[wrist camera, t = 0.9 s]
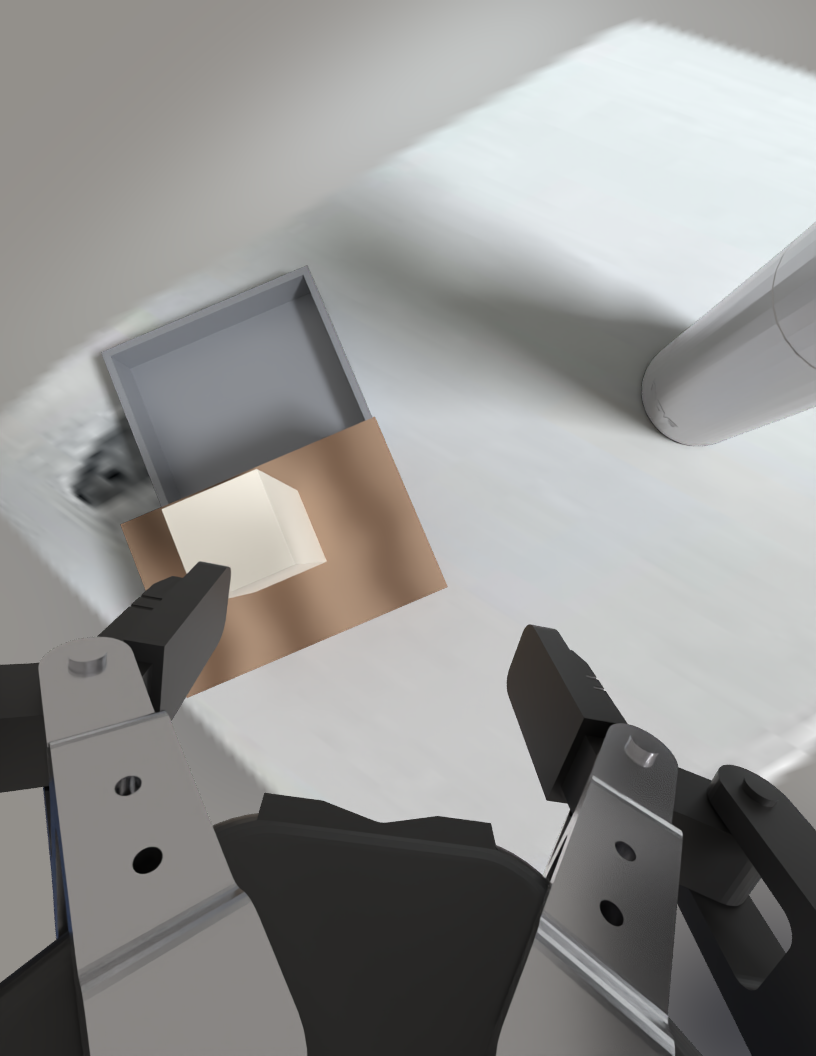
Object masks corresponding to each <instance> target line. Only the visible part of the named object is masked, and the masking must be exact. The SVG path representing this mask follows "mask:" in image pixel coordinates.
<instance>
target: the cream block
mask: <svg viewBox="0 0 816 1056" xmlns="http://www.w3.org/2000/svg"><path fill="white" fill-rule="evenodd" d="M162 512H163V514H164V517H165V520H166V522H167V525H168V527H169V530H170V532H171V535H172V537H173V540H174V543H175V545H176V548H177V550H178V553H179V555H180V558H181V561H182V563H183V566H184V568H185V571H186V573H188V572H189V571H190V570H191V569H192V568H193V567H194V566H195V565H196V564H197V563H198V562H199V561H202V562H207V563H212V564H218V565H223V566H228V567H230V568H231V580H230V589H229V597H228V598H233V597H237V596H241V595H245V594H250V593H254V592H257V591H259V590H261V589H264V588H266V587H268V586H271V585H273V584H276V583H278V582H280V581H283V580H285V579H287V578H290V577H292V576H294V575H297V574H299V573H301V572H304V571H306V570H308V569H311V568H313V567H315V566H318V565H320V564H323V563H325V562H327V561H326V559H325V556H324V554H323V551H322V549H321V546H320V544H319V542H318V539H317V537H316V534H315V532H314V529H313V527H312V525H311V522H310V520H309V517H308V515H307V512H306V510H305V508H304V505H303V503H302V500H301V498H300V495H299V493H298V491H297V490H296V489H294V488H292V487H290V486H288V485H286V484H284V483H282V482H280V481H279V480H277V479H275V478H273V477H271V476H269V475H267V474H265V473H264V472H262V471H260V470H258V469H255V470H253V471H251V472H248V473H246V474H244V475H241V476H239V477H237V478H234V479H232V480H229V481H227V482H225V483H222V484H220V485H218V486H215V487H213V488H211V489H208V490H206V491H204V492H201V493H199V494H196V495H194V496H192V497H189V498H187V499H185V500H182V501H180V502H178V503H175V504H173V505H171V506H168V507H166V508H163V509H162Z"/></svg>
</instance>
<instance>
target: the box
mask: <svg viewBox="0 0 816 1056" xmlns="http://www.w3.org/2000/svg"><path fill="white" fill-rule="evenodd" d="M101 353H102V356H103V359H104V361H105V364H106V366H107V369H108V371H109V374H110V376H111V379H112V382H113V384H114V387H115V389H116V392H117V394H118V397H119V399H120V402H121V405H122V407H123V410H124V412H125V415H126V417H127V420H128V422H129V425H130V428H131V430H132V433H133V435H134V438H135V440H136V443H137V446H138V448H139V451H140V453H141V456H142V458H143V461H144V463H145V466H146V469H147V471H148V474H149V476H150V479H151V481H152V484H153V486H154V489H155V492H156V494H157V497H158V499H159V502H160V504H161V507H163V506H165V505H168V504H170V503H172V502H175V501H177V500H179V499H182V498H184V497H186V496H189V495H191V494H194V493H196V492H198V491H201V490H203V489H205V488H208V487H210V486H212V485H215V484H217V483H220V482H222V481H224V480H227V479H229V478H231V477H234V476H236V475H238V474H241V473H243V472H245V471H248V470H250V469H253V468H255V467H257V466H260V465H262V464H264V463H267V462H269V461H271V460H274V459H276V458H278V457H281V456H283V455H286V454H288V453H290V452H293V451H295V450H297V449H300V448H302V447H304V446H307V445H309V444H312V443H314V442H316V441H319V440H321V439H323V438H326V437H328V436H330V435H333V434H335V433H337V432H340V431H342V430H345V429H347V428H349V427H352V426H354V425H356V424H359V423H361V422H363V421H366V420H368V419H371V418H372V415H371V413H370V411H369V408H368V406H367V404H366V401H365V399H364V397H363V394H362V392H361V390H360V387H359V385H358V383H357V380H356V378H355V376H354V373H353V371H352V368H351V366H350V364H349V361H348V359H347V357H346V354H345V352H344V350H343V347H342V345H341V343H340V340H339V338H338V336H337V333H336V331H335V329H334V326H333V324H332V322H331V319H330V317H329V315H328V312H327V310H326V308H325V305H324V303H323V301H322V298H321V296H320V294H319V291H318V289H317V287H316V284H315V282H314V280H313V277H312V275H311V272H310V270H309V268H308V265H307V266H304V267H302V268H300V269H297V270H295V271H293V272H290V273H288V274H285V275H283V276H281V277H278V278H276V279H274V280H271V281H269V282H267V283H264V284H262V285H259V286H257V287H255V288H252V289H250V290H248V291H245V292H243V293H240V294H238V295H236V296H233V297H231V298H229V299H226V300H224V301H222V302H219V303H217V304H214V305H212V306H210V307H207V308H205V309H203V310H200V311H198V312H195V313H193V314H191V315H188V316H186V317H184V318H181V319H179V320H177V321H174V322H172V323H169V324H167V325H165V326H162V327H160V328H158V329H155V330H153V331H150V332H148V333H146V334H143V335H141V336H139V337H136V338H134V339H131V340H129V341H127V342H124V343H122V344H120V345H117V346H115V347H113V348H110V349H108V350H105V351H103V352H101Z"/></svg>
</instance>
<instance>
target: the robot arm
mask: <svg viewBox="0 0 816 1056" xmlns="http://www.w3.org/2000/svg"><path fill="white" fill-rule="evenodd" d="M642 399H643V404H644V407H645V410H646V413H647V415H648V417H649V418H650V420H651V421H652V423H653V424H654V425H655V426H656V428H657V429H658V430H659V431H660V432H661V433H663V434H664V435H666V436H667V437H669V438H670V439H672V440H674V441H677V442H679V443H682V444H686V445H691V446H706V445H711V444H716V443H718V442H721V441H724V440H727V439H729V438H732V437H735V436H737V435H740V434H743V433H745V432H748V431H751V430H754V429H757V428H760V427H762V426H765V425H768V424H770V423H773V422H776V421H779V420H781V419H784V418H787V417H789V416H792V415H795V414H797V413H800V412H803V411H806V410H808V409H811V408H814V407H816V222H815V223H814V224H813V225H811V226H810V227H809V228H808V229H807V230H806V231H804V232H803V233H802V234H801V235H800V236H799V237H797V238H796V239H795V240H794V241H793V242H791V243H790V244H789V245H788V246H787V247H785V248H784V249H783V250H782V251H781V252H779V253H778V254H777V255H776V256H775V257H773V258H772V259H771V260H770V261H769V262H767V263H766V264H765V265H764V266H763V267H761V268H760V269H759V270H758V271H757V272H755V273H754V274H753V275H752V276H750V277H749V278H748V279H747V280H746V281H744V282H743V283H742V284H741V285H740V286H738V287H737V288H736V289H735V290H734V291H732V292H731V293H730V294H729V295H728V296H726V297H725V298H724V299H723V300H722V301H720V302H719V303H718V304H717V305H716V306H714V307H713V308H712V309H711V310H710V311H708V312H707V313H706V314H705V315H704V316H702V317H701V318H700V319H699V320H697V321H696V322H695V323H694V324H693V325H691V326H690V327H689V328H688V329H686V330H685V331H684V332H683V333H682V334H680V335H679V336H678V337H677V338H676V339H674V340H673V341H672V342H671V343H670V344H668V345H667V346H666V347H665V348H664V349H662V350H661V351H660V352H659V353H658V354H657V355H656V356H655V357H654V358H653V359H652V361H651V362H650V364H649V366H648V367H647V369H646V372H645V375H644V378H643V382H642ZM230 580H231V568H230V567H228V566H223V565H218V564H212V563H207V562H202V561H199V562H198V563H197V564H196V565H195V566H194V567H193V568H192V569H191V570H190V571H189V572H188V573H187V574H186V575H185V576H184V577H183V578H182V577H176V576H171V577H168V578H166V579H164V580H161V581H159V582H157V583H154V584H153V585H152V586H151V587H150V588H149V589H147V590H146V591H145V592H144V593H143V594H142V596H141V597H139V598H138V599H137V600H136V601H135V602H134V603H132V605H131V607H128V608H127V609H126V610H125V611H124V612H123V613H122V614H121V615H120V616H119V617H118V618H116V619H115V620H114V621H113V622H112V623H111V624H110V625H109V626H108V627H107V628H106V629H105V630H104V631H103V632H102V633H101V634H99V635H98V636H97V637H87V638H81V639H76V640H72V641H69V642H66V643H64V644H61V645H59V646H57V647H55V648H53V649H52V650H50V651H49V652H48V653H47V654H46V655H44V656H43V658H42V659H41V661H40V663H31V664H10V665H0V793H1V792H8V791H16V790H23V789H30V788H37V787H43V794H44V804H45V815H46V824H47V834H48V845H49V855H50V865H51V876H52V889H53V905H54V920H55V932H56V940H55V941H54V942H53V943H51V944H50V945H49V946H47V947H46V948H45V949H44V950H42V951H41V952H40V953H38V954H37V955H36V956H34V957H33V958H32V959H31V960H29V961H28V962H27V963H25V964H24V965H23V966H21V967H20V968H19V969H18V970H16V971H15V972H14V973H12V974H11V975H10V976H8V977H7V978H6V979H5V980H3V981H2V982H1V983H0V1056H702V1054H701V1053H700V1052H699V1051H698V1050H697V1049H696V1048H695V1046H694V1045H693V1044H692V1043H691V1042H690V1041H689V1040H688V1038H687V1037H686V1036H685V1035H684V1034H683V1033H682V1032H681V1031H680V1029H679V1028H678V1027H677V1026H676V1025H675V1024H674V1023H673V1021H672V1020H671V1019H670V1018H669V1017H668V1004H669V992H670V982H671V970H672V958H673V946H674V934H675V923H676V910H677V904H678V906H679V908H680V910H681V912H682V914H683V916H684V918H685V920H686V922H687V924H688V926H689V928H690V931H691V933H692V934H693V936H694V938H695V941H696V943H697V945H698V947H699V949H700V951H701V953H702V955H703V957H704V959H705V961H706V963H707V965H708V967H709V969H710V971H711V973H712V975H713V978H714V979H715V981H716V983H717V986H718V988H719V990H720V992H721V994H722V996H723V998H724V1000H725V1002H726V1004H727V1006H728V1008H729V1010H730V1012H731V1014H732V1016H733V1018H734V1020H735V1022H736V1024H737V1026H738V1029H739V1031H740V1033H741V1035H742V1037H743V1038H744V1041H745V1043H746V1045H747V1047H748V1049H749V1051H750V1053H751V1055H752V1056H816V830H815V829H814V828H813V827H812V826H811V824H810V823H809V822H808V821H807V820H806V819H805V818H804V817H803V815H802V814H801V813H800V812H799V811H798V810H797V808H796V807H795V806H794V805H793V804H792V803H791V802H790V800H789V799H788V798H787V797H786V796H785V795H784V794H783V793H782V792H781V791H779V790H778V789H777V788H776V787H775V786H773V785H772V784H771V783H769V782H768V781H766V780H765V779H763V778H762V777H760V776H759V775H757V774H755V773H753V772H751V771H749V770H747V769H744V768H741V767H738V766H734V765H723V766H721V767H720V768H719V770H718V771H717V773H716V774H715V776H714V778H713V779H712V781H711V780H709V779H706V778H704V777H701V776H699V775H696V774H694V773H691V772H689V771H686V770H684V769H681V768H679V767H678V764H677V761H676V759H675V757H674V755H673V754H672V753H671V751H670V750H669V749H668V748H667V747H666V746H665V745H664V744H663V743H662V742H661V741H660V740H658V739H657V738H656V737H654V736H653V735H651V734H650V733H648V732H646V731H644V730H642V729H640V728H638V727H635V726H632V725H629V724H627V722H626V721H625V719H624V718H623V716H622V715H621V713H620V712H619V710H618V709H617V707H616V706H615V704H614V703H613V701H612V700H611V698H610V697H609V695H608V694H607V692H606V691H604V688H603V686H602V685H601V683H600V682H599V680H597V679H596V676H595V674H594V673H593V671H592V670H591V668H590V667H589V665H588V664H587V663H586V662H585V661H584V660H583V659H582V658H580V657H579V656H578V655H577V654H576V653H575V652H574V651H572V650H570V649H569V648H568V646H567V645H566V643H565V642H564V640H563V638H562V637H561V635H560V634H559V632H558V631H557V630H556V629H551V628H546V627H541V626H536V625H527V626H526V628H525V629H524V631H523V633H522V636H521V639H520V641H519V644H518V647H517V650H516V652H515V655H514V658H513V660H512V663H511V666H510V669H509V672H508V676H507V692H508V696H509V698H510V701H511V704H512V707H513V709H514V712H515V715H516V718H517V720H518V723H519V726H520V729H521V731H522V734H523V737H524V740H525V742H526V745H527V748H528V751H529V753H530V756H531V759H532V762H533V764H534V767H535V770H536V773H537V775H538V778H539V781H540V784H541V786H542V789H543V792H544V795H545V797H546V800H547V801H554V802H561V803H568V805H569V808H570V810H569V813H568V815H567V817H566V819H565V821H564V823H563V826H562V828H561V831H560V833H559V836H558V838H557V841H556V843H555V846H554V848H553V850H552V853H551V855H550V858H549V860H548V863H547V865H546V868H545V870H544V873H543V875H542V874H541V873H539V872H538V871H537V870H536V869H535V868H533V867H532V866H531V865H530V864H528V863H527V862H526V861H524V860H523V859H521V858H520V857H518V856H516V855H515V854H513V853H511V852H509V851H507V850H506V849H504V848H502V847H499V846H497V845H496V844H495V840H494V835H493V831H492V826H491V823H485V822H478V821H470V820H463V819H455V818H448V817H441V816H435V817H427V818H419V819H411V820H404V821H396V822H388V823H380V822H376V821H373V820H371V819H368V818H366V817H363V816H360V815H358V814H355V813H353V812H350V811H348V810H345V809H343V808H340V807H337V806H335V805H332V804H330V803H327V802H325V801H321V800H314V799H306V798H299V797H292V796H284V795H277V794H269V793H264V797H263V800H262V803H261V807H260V810H259V813H257V814H249V815H244V816H240V817H236V818H232V819H229V820H226V821H223V822H220V823H218V824H215V825H213V826H212V824H211V821H210V819H209V816H208V813H207V811H206V808H205V806H204V803H203V801H202V798H201V796H200V793H199V791H198V788H197V785H196V783H195V780H194V778H193V775H192V773H191V770H190V768H189V765H188V763H187V760H186V758H185V755H184V752H183V750H182V747H181V745H180V743H179V740H178V737H177V735H176V732H175V730H174V727H173V725H172V722H171V721H172V719H173V718H174V716H175V714H176V713H177V711H178V709H179V708H180V706H181V704H182V703H183V701H184V699H185V698H186V696H187V694H188V693H189V691H190V690H191V688H192V686H193V685H194V683H195V681H196V680H197V678H198V676H199V675H200V673H201V671H202V670H203V668H204V666H205V665H206V663H207V662H208V660H209V658H210V657H211V655H212V653H213V652H214V650H215V648H216V647H217V645H218V643H219V641H220V639H221V636H222V633H223V630H224V626H225V621H226V614H227V605H228V597H229V589H230ZM761 878H762V879H763V881H764V882H765V884H766V885H767V887H768V888H769V890H770V891H771V892H772V894H773V895H774V897H775V898H776V900H777V901H778V903H779V904H780V906H781V907H782V909H783V910H784V912H785V914H786V916H787V918H788V920H789V923H790V926H791V930H792V944H791V947H790V949H789V950H788V952H787V953H785V951H784V950H783V948H782V947H781V945H780V943H779V942H778V940H777V939H776V937H775V936H774V934H773V932H772V931H771V929H770V928H769V926H768V925H767V923H766V921H765V920H764V918H763V917H762V915H761V914H760V912H759V910H758V909H757V907H756V906H755V904H754V903H753V901H752V899H751V898H750V896H749V894H750V893H751V891H752V890H753V889H754V887H755V886H756V884H757V883H758V882H759V880H760V879H761Z"/></svg>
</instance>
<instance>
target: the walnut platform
mask: <svg viewBox="0 0 816 1056" xmlns="http://www.w3.org/2000/svg"><path fill="white" fill-rule="evenodd" d="M255 469H258V470H260V471H262V472H264V473H265V474H267V475H269V476H271V477H273V478H275V479H277V480H279V481H280V482H282V483H284V484H286V485H288V486H290V487H292V488H294V489H296V490H297V491H298V493H299V495H300V498H301V500H302V503H303V505H304V508H305V510H306V512H307V515H308V517H309V520H310V522H311V525H312V527H313V529H314V532H315V534H316V537H317V539H318V542H319V544H320V546H321V549H322V551H323V554H324V556H325V559H326V561H327V562H325V563H323V564H320V565H318V566H315V567H313V568H311V569H308V570H306V571H304V572H301V573H299V574H297V575H294V576H292V577H290V578H287V579H285V580H283V581H280V582H278V583H276V584H273V585H271V586H268V587H266V588H264V589H261V590H259V591H257V592H254V593H250V594H245V595H241V596H237V597H233V598H228V605H227V614H226V621H225V626H224V630H223V633H222V636H221V639H220V641H219V643H218V645H217V647H216V648H215V650H214V652H213V653H212V655H211V657H210V658H209V660H208V662H207V663H206V665H205V666H204V668H203V670H202V671H201V673H200V675H199V676H198V678H197V680H196V681H195V683H194V685H193V686H192V688H191V690H190V691H189V693H188V694H187V696H186V697H187V698H188V697H190V696H193V695H195V694H198V693H200V692H202V691H205V690H207V689H209V688H212V687H214V686H216V685H219V684H221V683H223V682H226V681H228V680H230V679H233V678H235V677H237V676H240V675H242V674H244V673H247V672H249V671H252V670H254V669H256V668H259V667H261V666H263V665H266V664H268V663H270V662H273V661H275V660H277V659H280V658H282V657H284V656H287V655H289V654H291V653H294V652H296V651H298V650H301V649H303V648H306V647H308V646H310V645H313V644H315V643H317V642H320V641H322V640H324V639H327V638H329V637H331V636H334V635H336V634H338V633H341V632H343V631H345V630H348V629H350V628H352V627H355V626H357V625H360V624H362V623H364V622H367V621H369V620H371V619H374V618H376V617H378V616H381V615H383V614H385V613H388V612H390V611H392V610H395V609H397V608H399V607H402V606H404V605H406V604H409V603H411V602H414V601H416V600H418V599H421V598H423V597H425V596H428V595H430V594H432V593H435V592H437V591H439V590H442V589H444V588H446V587H447V584H446V582H445V580H444V577H443V575H442V573H441V570H440V568H439V565H438V563H437V561H436V558H435V556H434V554H433V551H432V549H431V547H430V544H429V542H428V540H427V537H426V535H425V533H424V530H423V528H422V526H421V523H420V521H419V519H418V516H417V514H416V512H415V509H414V507H413V505H412V502H411V500H410V498H409V495H408V493H407V491H406V488H405V486H404V484H403V481H402V479H401V477H400V474H399V472H398V470H397V467H396V465H395V463H394V460H393V458H392V456H391V453H390V451H389V449H388V446H387V444H386V442H385V439H384V437H383V435H382V432H381V430H380V428H379V425H378V423H377V420H376V418H375V417H373V418H371V419H368V420H366V421H363V422H361V423H359V424H356V425H354V426H352V427H349V428H347V429H345V430H342V431H340V432H337V433H335V434H333V435H330V436H328V437H326V438H323V439H321V440H319V441H316V442H314V443H312V444H309V445H307V446H304V447H302V448H300V449H297V450H295V451H293V452H290V453H288V454H286V455H283V456H281V457H278V458H276V459H274V460H271V461H269V462H267V463H264V464H262V465H260V466H257V467H255V468H253V469H250V470H248V471H245V472H243V473H241V474H238V475H236V476H234V477H231V478H229V479H227V480H224V481H222V482H220V483H217V484H215V485H212V486H210V487H208V488H205V489H203V490H201V491H198V492H196V493H194V494H191V495H189V496H186V497H184V498H182V499H179V500H177V501H175V502H172V503H170V504H168V505H165V506H163V507H161V508H158V509H156V510H153V511H151V512H149V513H146V514H144V515H142V516H139V517H137V518H135V519H132V520H130V521H128V522H125V523H123V524H120V525H121V528H122V530H123V533H124V535H125V538H126V541H127V543H128V546H129V548H130V551H131V554H132V556H133V559H134V561H135V564H136V567H137V569H138V572H139V574H140V577H141V580H142V582H143V585H144V587H145V590H147V589H149V588H150V587H151V586H152V585H153V584H154V583H157V582H159V581H161V580H164V579H166V578H168V577H171V576H176V577H182V578H183V577H184V576H185V575H186V574H187V573H186V571H185V568H184V566H183V563H182V561H181V558H180V555H179V553H178V550H177V548H176V545H175V543H174V540H173V537H172V535H171V532H170V530H169V527H168V525H167V522H166V520H165V517H164V514H163V512H162V509H163V508H166V507H168V506H171V505H173V504H175V503H178V502H180V501H182V500H185V499H187V498H189V497H192V496H194V495H196V494H199V493H201V492H204V491H206V490H208V489H211V488H213V487H215V486H218V485H220V484H222V483H225V482H227V481H229V480H232V479H234V478H237V477H239V476H241V475H244V474H246V473H248V472H251V471H253V470H255Z"/></svg>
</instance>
